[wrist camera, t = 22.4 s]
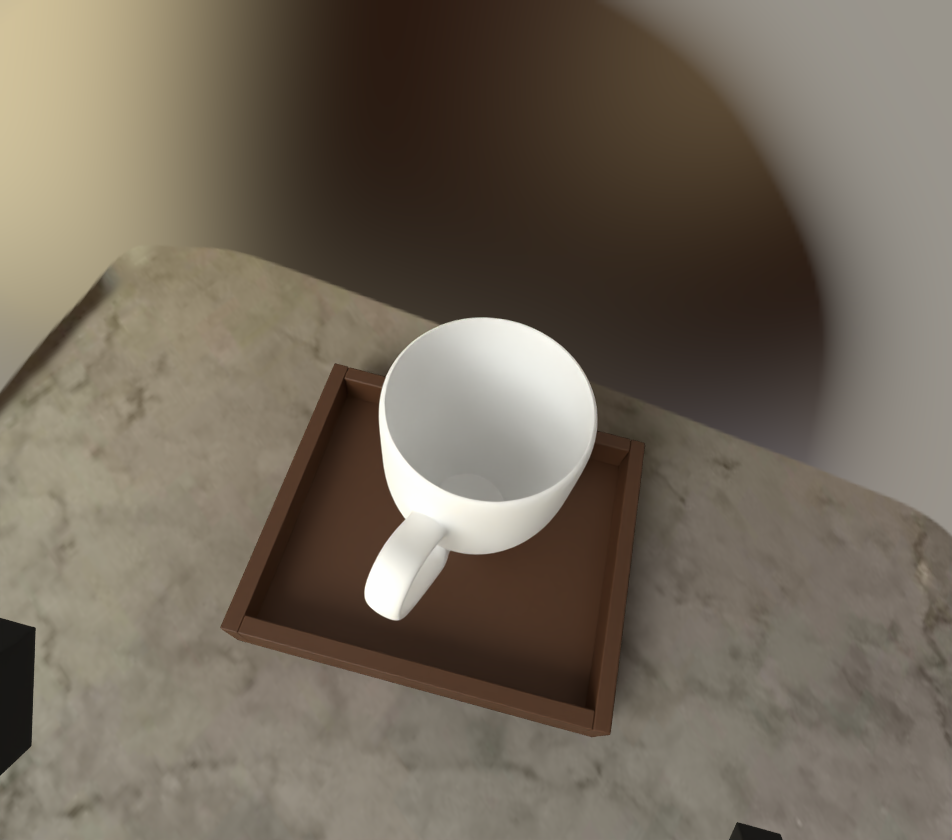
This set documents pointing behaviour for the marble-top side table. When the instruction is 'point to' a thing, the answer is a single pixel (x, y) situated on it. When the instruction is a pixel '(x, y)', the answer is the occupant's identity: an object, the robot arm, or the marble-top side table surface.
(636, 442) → the tray
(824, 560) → the marble-top side table surface
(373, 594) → the mug
